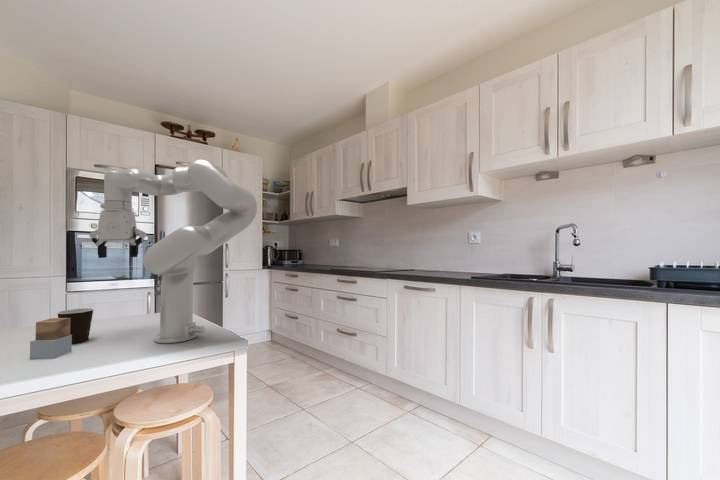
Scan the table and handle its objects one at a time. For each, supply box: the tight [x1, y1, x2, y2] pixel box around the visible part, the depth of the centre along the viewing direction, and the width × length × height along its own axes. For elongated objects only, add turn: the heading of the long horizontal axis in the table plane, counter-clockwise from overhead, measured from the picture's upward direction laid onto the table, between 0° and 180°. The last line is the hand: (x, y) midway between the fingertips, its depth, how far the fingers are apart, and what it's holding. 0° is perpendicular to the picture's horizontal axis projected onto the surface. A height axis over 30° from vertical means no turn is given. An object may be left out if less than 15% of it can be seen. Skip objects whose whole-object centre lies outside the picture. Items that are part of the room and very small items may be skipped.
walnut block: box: [35, 317, 71, 340], centre depth 89 cm, size 5×5×5 cm
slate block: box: [29, 335, 73, 360], centre depth 89 cm, size 6×6×5 cm
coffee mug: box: [57, 307, 94, 346], centre depth 102 cm, size 12×9×10 cm
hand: (118, 257), depth 106 cm, fingers open, 9 cm apart
